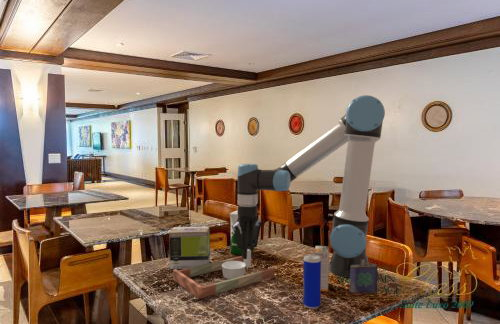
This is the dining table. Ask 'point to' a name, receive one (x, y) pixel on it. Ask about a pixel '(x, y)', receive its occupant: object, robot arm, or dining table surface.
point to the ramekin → (233, 269)
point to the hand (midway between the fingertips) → (247, 266)
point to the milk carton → (233, 240)
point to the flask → (363, 278)
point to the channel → (218, 287)
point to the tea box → (189, 247)
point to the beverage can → (311, 281)
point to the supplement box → (323, 265)
